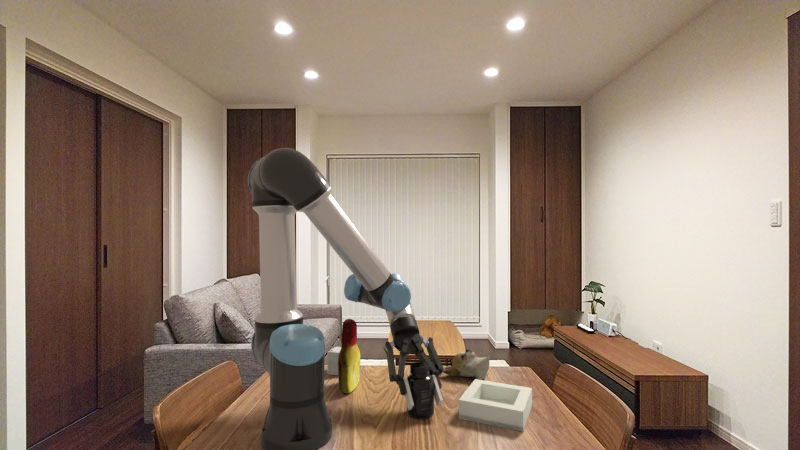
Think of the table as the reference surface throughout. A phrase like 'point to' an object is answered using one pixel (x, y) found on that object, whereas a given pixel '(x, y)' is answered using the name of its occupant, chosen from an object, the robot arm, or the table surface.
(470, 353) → the ceramic sculpture
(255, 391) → the table surface
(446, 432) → the table surface
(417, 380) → the supplement bottle
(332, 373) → the skincare box
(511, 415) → the holder
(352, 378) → the bottle
